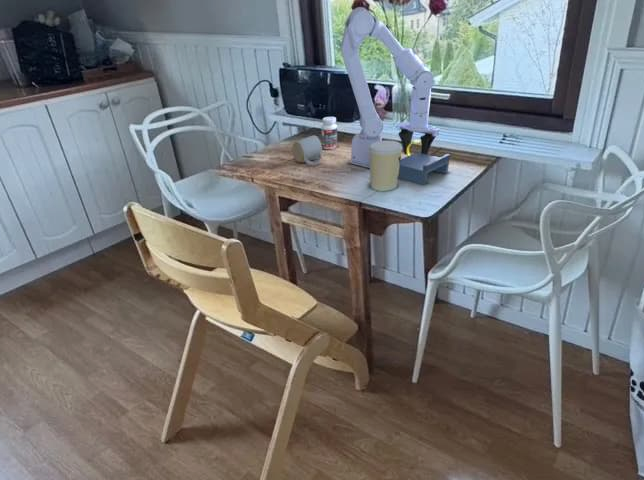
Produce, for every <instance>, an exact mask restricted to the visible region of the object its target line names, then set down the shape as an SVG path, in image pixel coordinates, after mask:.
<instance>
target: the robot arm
mask: <svg viewBox="0 0 644 480" xmlns="http://www.w3.org/2000/svg"><path fill="white" fill-rule="evenodd" d="M368 36H369V38H374V39H378V41H380V42H381V44H383V45H384V47H386V49H387V50H388V51H389V52H390V53H391V54H392V55H393V57H394V65H395V67H397V69H398V70H399V71H400V72H401V73H402V74H403V76H404V77H405V78H406V79H407V80H408V81H410V84H411V85H412V87H411V89H412V91H411V95H410V108H409V120H408V122H405V121H400V122H398V123H397V124H396V125H397V126H396V130H397V131H399V132H398V137H399V139H400V141H401V145H402V150H403V154H404V155H407V152H406V150H407V146H408V145H409V144H410V143H412V141H413V140H412V139H413V135H414V133H417V134H423V135H421V136H420V139H419V140H421V146H420V149H421V150H420V153H422V154H426V155H428V153H429V150H430V147H431V145H432V144H433V142H434V140H435V139H436V137H438V136H439V135H440V130H441V129H440V128H438V127H435V126H433V125H429V114H430V106H431V96H432V95H431V92H432V89H433V87H434V85H435V82H436V80H435V76H434V74H433V72H431V71H430V70H429V69H428V67H427V66H428V64H427V63H426V62H423V61H422V60H421V59H420V57H418V55H417V54H418V51H416V50H415V49H412V48H411V47H403V46H402V44H401V43H400V42H399V41H398V40H397V38H396V37H395V36H394V34H393V33H392V32H391V31H390V29H389V28H388V27H387V26H386V25H385V23H383V22H382V21H381V20H379V19H378V18H377V17H376V16H374V15H373V13H372V12H371V11H369V10H368V9H367V8H365V7H364V6H363V7H362V6H359V7H355V8H354V9H352V11H351V12H350V13H349V15H348V17H347V19H346V20H345V23H344V30H343V33H342V38H341V43H340V53H341V56H342V59H343V62H344V66H345V69H346V72H347V76H348V78H349V82H350V85H351V89H352V93H353V95H354V98H355V101H356V104H357V109H358V111H359V120H358V121H359V125H360V128H361V130H360V132H359V133H356V134H354V136H353V137H352V140H351V146H350V147H351V148H350V149H351V150H350V161H349V164H352V165H355V166H359V167H364V168H366V169H367V168H368V169H370V151H369V148H370V145H371V144H373V143H375V142H378V141H383V131H384V122H383V120H382V119H381V118H380V115H379V114H378V112H377V111H376V107H375V105H374V102H373V98H372V95H371V92H370V88H369V85H368V81H367V78H366V74H365V71H364V67H363V65H362V60H361V56H360V54H359V49H360V47H361V45H362V43H363V41H364V40H365V39H366V38H367V37H368ZM411 146H412V145H411ZM411 146H410V148H409V152H411V148H412V147H411Z"/></svg>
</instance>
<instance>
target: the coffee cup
mask: <svg viewBox="0 0 644 480" xmlns="http://www.w3.org/2000/svg"><path fill="white" fill-rule="evenodd" d="M369 151H370V168H369V181H370V183H369V184H370V188H371V189H373V190H374V191H379V192H380V191H381V192H385V191H392V190H394V189H396V188H397V186H398V180H399V178H398V174H399V167H400V160H401V159H402V151H403V144H402V142H399V141H395V140H382V141H378V142H375V143H373V144H371V145H370V148H369Z"/></svg>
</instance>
